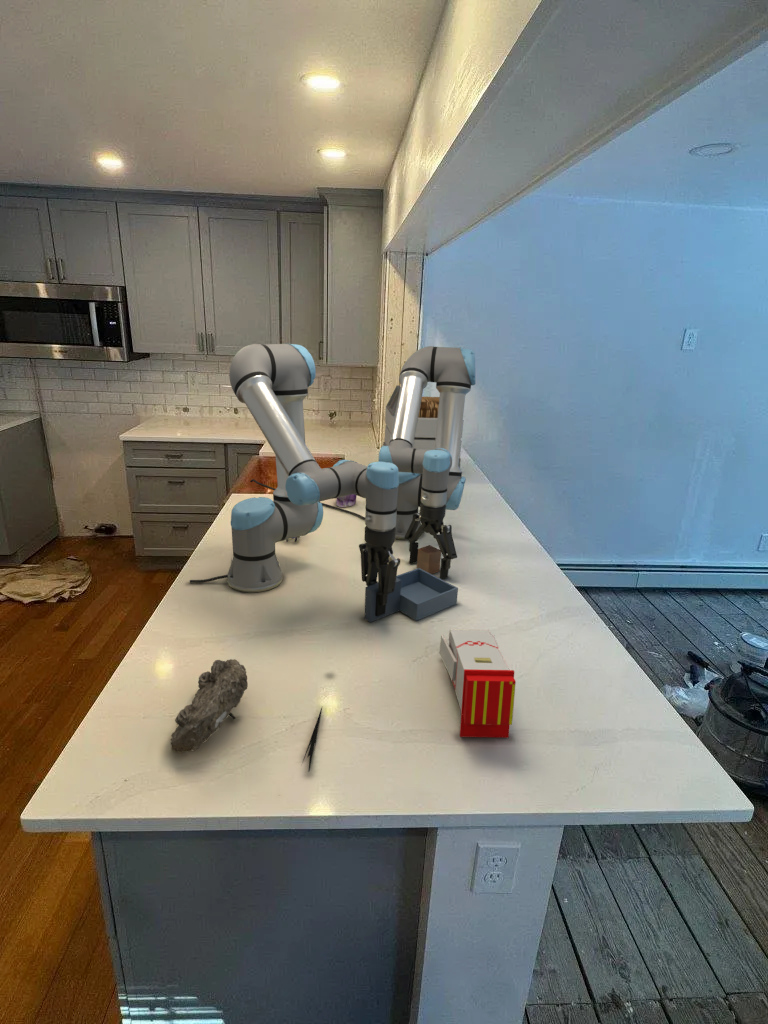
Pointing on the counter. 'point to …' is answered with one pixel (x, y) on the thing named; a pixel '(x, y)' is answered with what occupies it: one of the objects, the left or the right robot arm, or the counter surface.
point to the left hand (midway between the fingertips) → (376, 611)
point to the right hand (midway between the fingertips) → (428, 570)
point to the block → (429, 559)
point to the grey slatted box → (424, 424)
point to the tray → (413, 596)
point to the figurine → (346, 500)
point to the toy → (479, 682)
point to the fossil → (210, 704)
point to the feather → (313, 740)
